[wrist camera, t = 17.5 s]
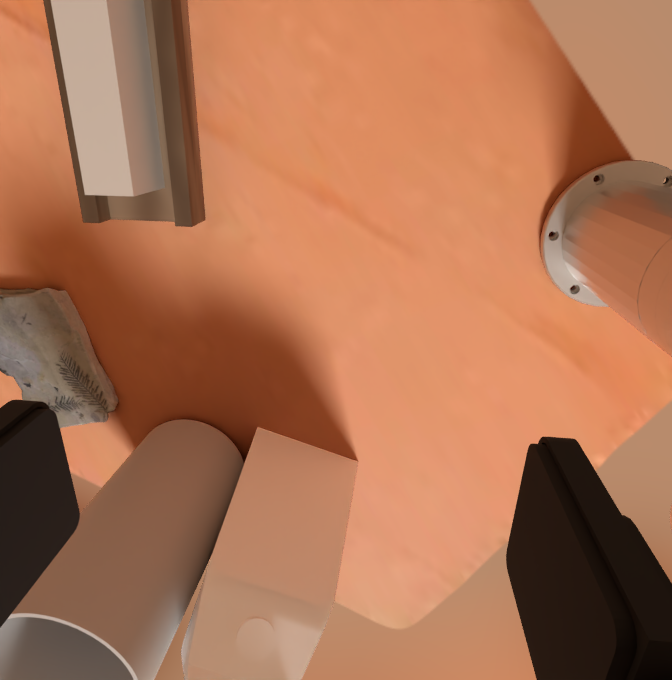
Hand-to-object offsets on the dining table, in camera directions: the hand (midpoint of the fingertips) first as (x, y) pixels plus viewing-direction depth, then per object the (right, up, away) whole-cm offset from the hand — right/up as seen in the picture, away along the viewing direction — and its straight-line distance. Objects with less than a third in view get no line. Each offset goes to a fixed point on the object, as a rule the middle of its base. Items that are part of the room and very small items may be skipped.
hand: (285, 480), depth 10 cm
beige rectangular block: (-16, +24, +32) cm, 43 cm away
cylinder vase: (-15, -11, +48) cm, 52 cm away
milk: (-4, -14, +49) cm, 51 cm away
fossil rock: (-32, +1, +46) cm, 56 cm away
